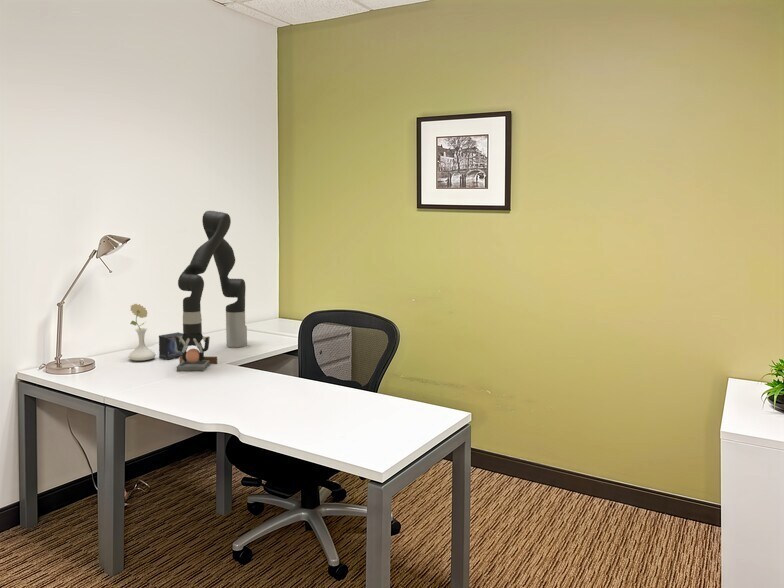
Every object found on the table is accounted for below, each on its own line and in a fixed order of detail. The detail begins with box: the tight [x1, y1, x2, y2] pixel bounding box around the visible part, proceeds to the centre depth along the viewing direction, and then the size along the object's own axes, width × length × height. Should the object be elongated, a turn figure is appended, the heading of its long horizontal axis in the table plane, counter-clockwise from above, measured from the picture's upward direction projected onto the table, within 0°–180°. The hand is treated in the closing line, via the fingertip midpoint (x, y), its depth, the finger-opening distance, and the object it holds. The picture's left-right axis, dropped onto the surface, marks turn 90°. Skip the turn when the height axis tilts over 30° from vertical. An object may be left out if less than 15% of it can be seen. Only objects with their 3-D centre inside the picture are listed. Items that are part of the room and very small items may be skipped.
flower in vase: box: [128, 303, 157, 362], centre depth 284 cm, size 13×11×25 cm
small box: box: [158, 331, 185, 361], centre depth 290 cm, size 11×6×10 cm, turn 143°
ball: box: [186, 348, 200, 363], centre depth 271 cm, size 6×6×6 cm
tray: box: [175, 360, 211, 372], centre depth 271 cm, size 11×11×2 cm
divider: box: [179, 355, 218, 365], centre depth 279 cm, size 1×16×3 cm, turn 92°
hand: (193, 360), depth 271 cm, fingers closed on ball, 6 cm apart
